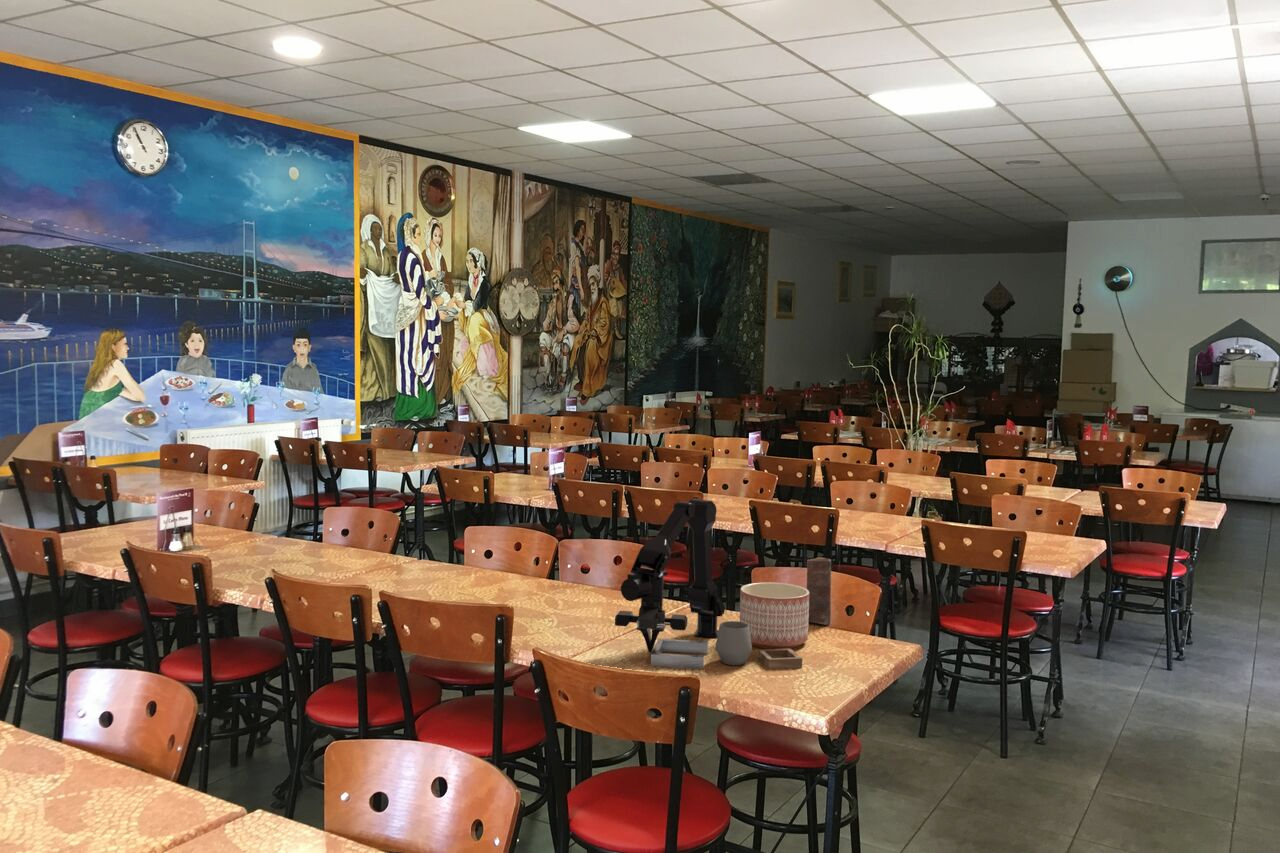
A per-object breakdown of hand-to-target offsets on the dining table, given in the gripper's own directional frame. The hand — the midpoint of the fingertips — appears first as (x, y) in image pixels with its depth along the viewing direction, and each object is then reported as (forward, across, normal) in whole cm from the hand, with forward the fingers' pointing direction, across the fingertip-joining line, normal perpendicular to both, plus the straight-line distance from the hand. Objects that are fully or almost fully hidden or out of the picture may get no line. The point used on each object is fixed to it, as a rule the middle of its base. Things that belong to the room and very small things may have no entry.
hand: (650, 652), depth 263 cm
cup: (+1, +22, 0) cm, 22 cm away
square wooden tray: (+1, +34, +2) cm, 34 cm away
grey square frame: (+1, +8, 0) cm, 8 cm away
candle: (+1, +45, +45) cm, 64 cm away
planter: (+1, +32, +22) cm, 39 cm away
